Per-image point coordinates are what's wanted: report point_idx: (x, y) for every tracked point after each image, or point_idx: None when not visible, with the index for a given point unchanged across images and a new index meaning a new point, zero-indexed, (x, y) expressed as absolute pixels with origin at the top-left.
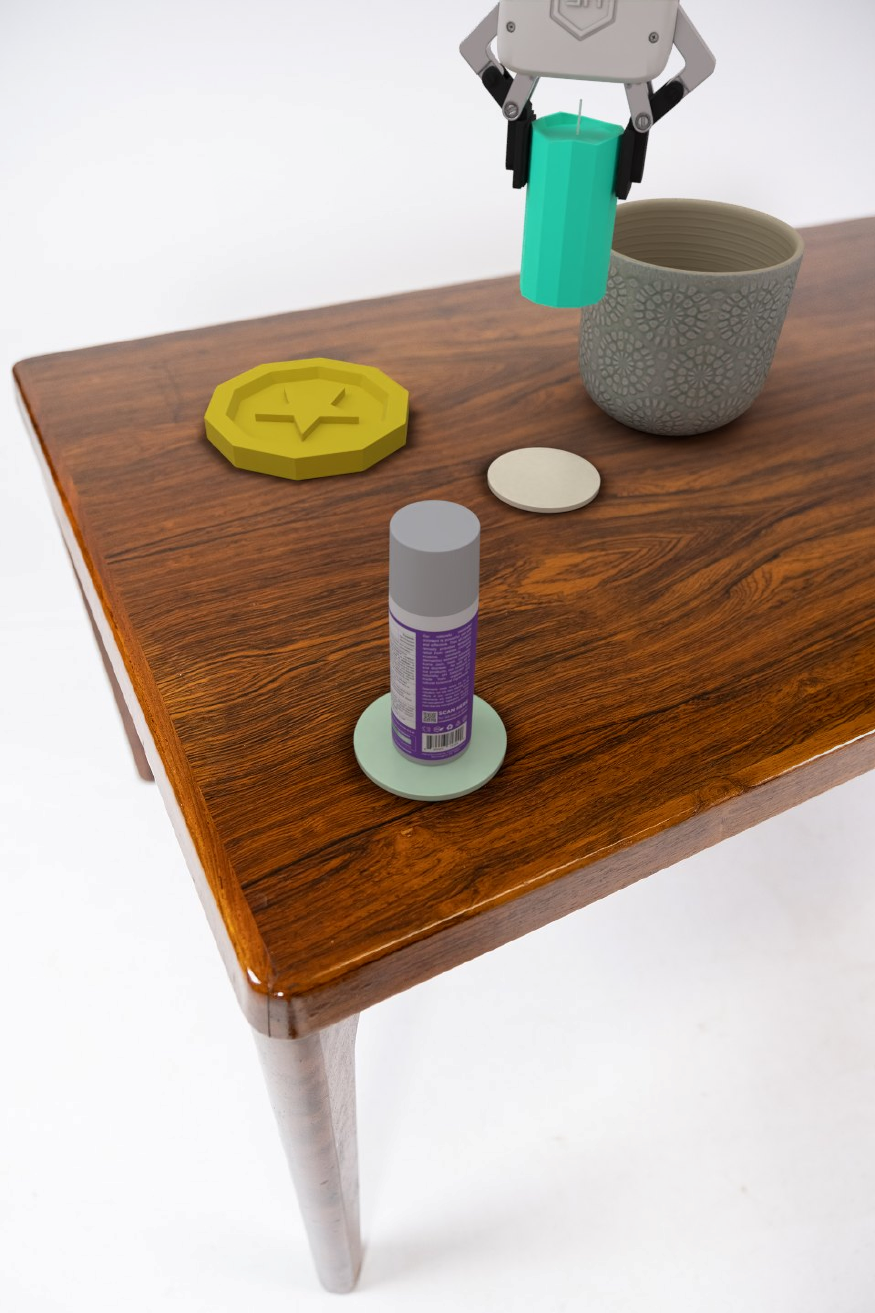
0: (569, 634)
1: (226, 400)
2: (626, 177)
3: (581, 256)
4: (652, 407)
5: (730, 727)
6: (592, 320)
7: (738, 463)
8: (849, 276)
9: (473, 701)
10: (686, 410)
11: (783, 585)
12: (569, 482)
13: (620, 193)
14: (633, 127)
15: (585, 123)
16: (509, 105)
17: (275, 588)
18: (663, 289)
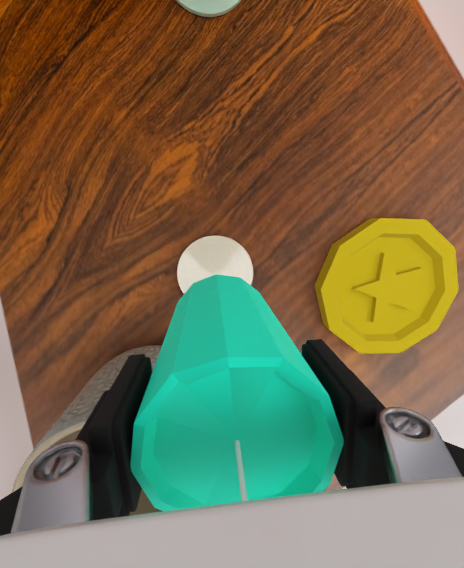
0: (153, 105)
1: (446, 274)
2: (123, 371)
3: (193, 297)
4: (153, 347)
5: (31, 40)
6: None
7: (97, 340)
8: None
9: (190, 1)
10: (128, 351)
11: (35, 208)
12: (197, 272)
13: (138, 356)
14: (98, 459)
15: None
16: (419, 432)
17: (347, 92)
18: None
